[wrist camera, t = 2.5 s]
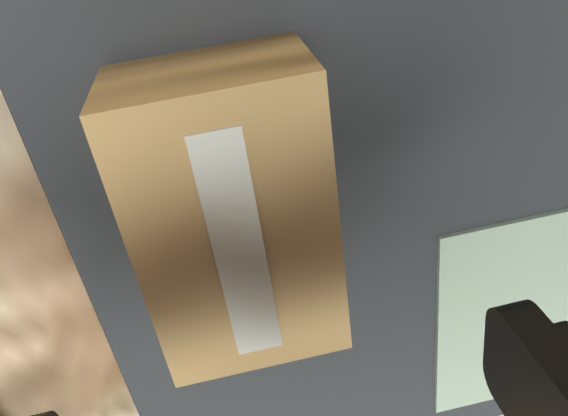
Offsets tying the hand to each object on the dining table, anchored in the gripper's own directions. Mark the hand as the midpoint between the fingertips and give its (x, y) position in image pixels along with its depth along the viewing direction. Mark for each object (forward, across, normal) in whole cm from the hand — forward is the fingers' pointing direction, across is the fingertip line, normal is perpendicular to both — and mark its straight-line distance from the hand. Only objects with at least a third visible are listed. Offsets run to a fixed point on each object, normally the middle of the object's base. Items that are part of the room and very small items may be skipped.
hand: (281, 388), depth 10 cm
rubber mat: (+8, -6, +3) cm, 10 cm away
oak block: (+7, 0, -1) cm, 7 cm away
